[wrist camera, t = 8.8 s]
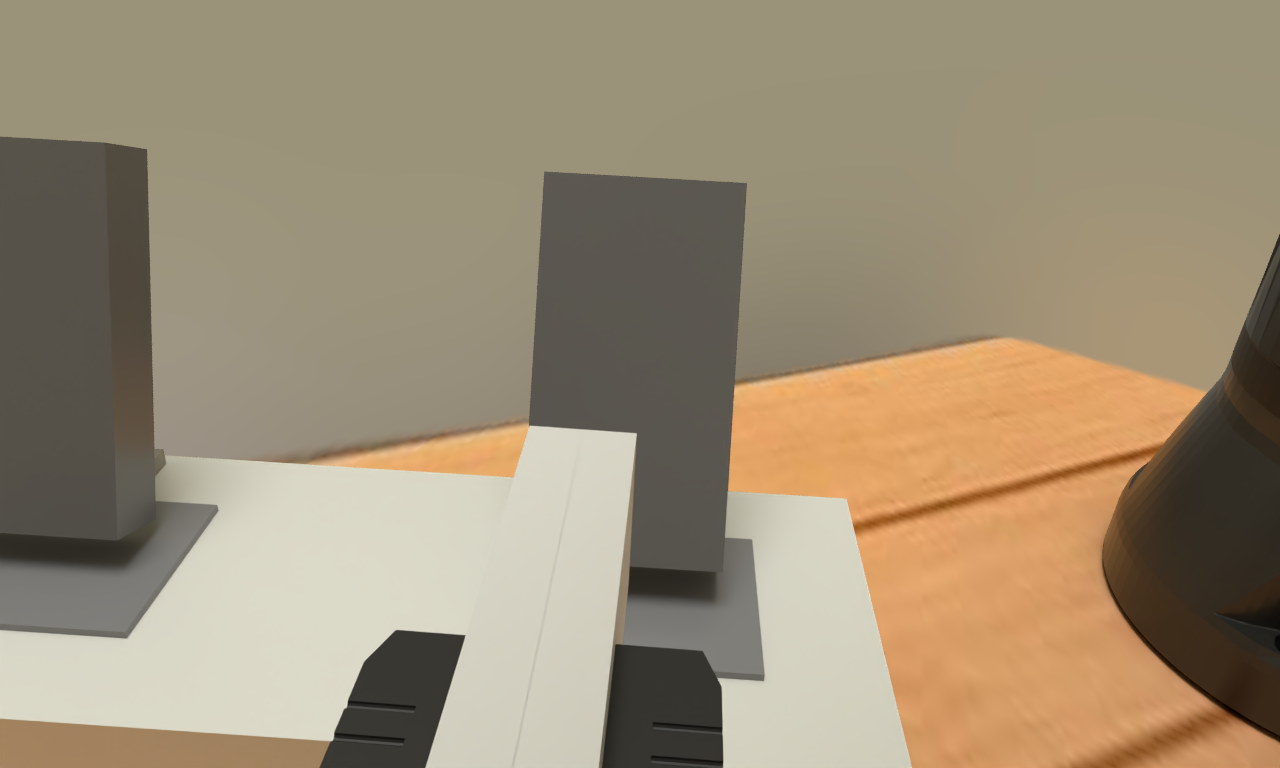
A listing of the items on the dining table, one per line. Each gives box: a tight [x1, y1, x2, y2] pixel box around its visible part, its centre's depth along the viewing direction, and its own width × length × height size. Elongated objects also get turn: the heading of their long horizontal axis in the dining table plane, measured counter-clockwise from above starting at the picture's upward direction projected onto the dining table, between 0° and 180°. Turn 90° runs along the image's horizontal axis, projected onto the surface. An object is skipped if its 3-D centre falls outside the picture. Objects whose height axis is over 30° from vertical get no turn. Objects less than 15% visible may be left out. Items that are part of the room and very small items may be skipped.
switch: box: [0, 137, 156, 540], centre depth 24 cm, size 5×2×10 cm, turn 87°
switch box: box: [0, 449, 912, 768], centre depth 26 cm, size 27×10×6 cm, turn 87°
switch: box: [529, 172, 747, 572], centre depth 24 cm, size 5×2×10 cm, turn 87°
